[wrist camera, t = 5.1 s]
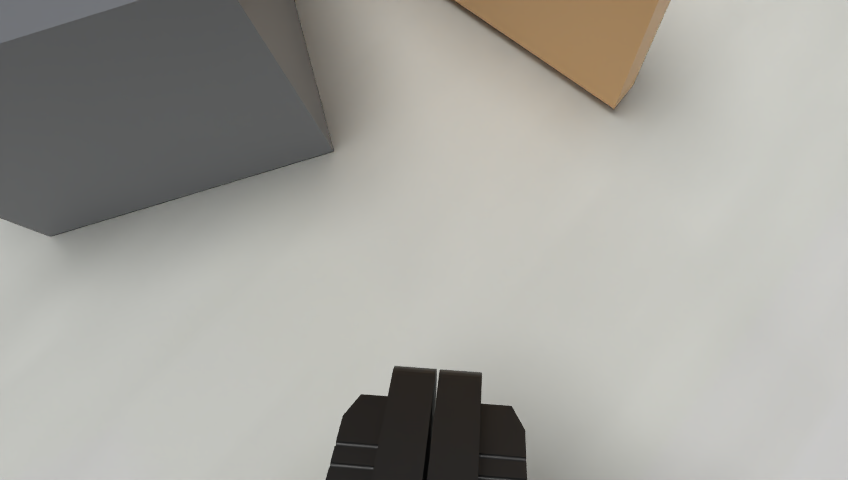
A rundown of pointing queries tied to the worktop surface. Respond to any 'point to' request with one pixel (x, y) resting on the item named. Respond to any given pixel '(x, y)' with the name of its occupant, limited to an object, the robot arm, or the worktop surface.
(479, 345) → the worktop surface
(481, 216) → the worktop surface
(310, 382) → the worktop surface
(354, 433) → the robot arm
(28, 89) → the grey matte box
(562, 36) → the side door
